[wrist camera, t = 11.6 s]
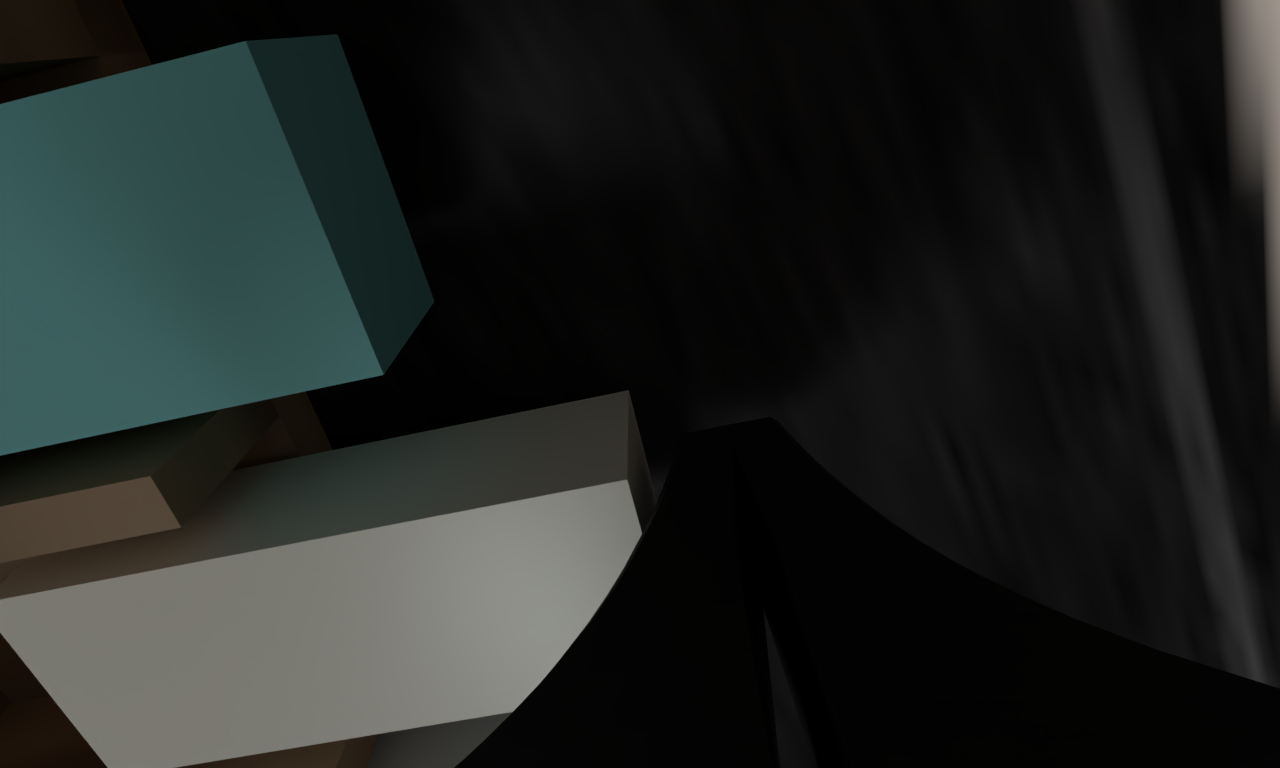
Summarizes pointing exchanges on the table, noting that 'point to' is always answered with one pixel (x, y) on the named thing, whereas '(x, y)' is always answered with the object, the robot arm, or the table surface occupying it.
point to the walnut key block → (127, 459)
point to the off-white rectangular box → (342, 590)
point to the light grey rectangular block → (433, 743)
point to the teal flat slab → (195, 242)
